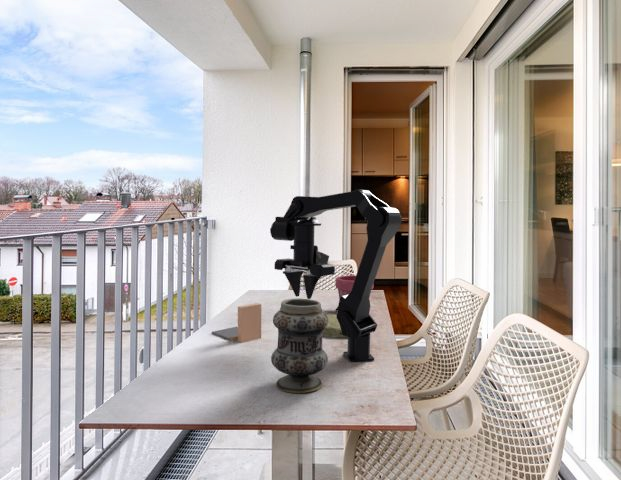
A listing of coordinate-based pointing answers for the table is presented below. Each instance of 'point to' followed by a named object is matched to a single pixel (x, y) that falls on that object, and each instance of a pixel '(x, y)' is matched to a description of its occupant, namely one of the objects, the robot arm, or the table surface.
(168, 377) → the table surface
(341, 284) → the plant pot
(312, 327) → the apothecary jar
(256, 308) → the tile
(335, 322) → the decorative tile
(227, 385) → the table surface
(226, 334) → the mat
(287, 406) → the table surface
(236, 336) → the stop strip
